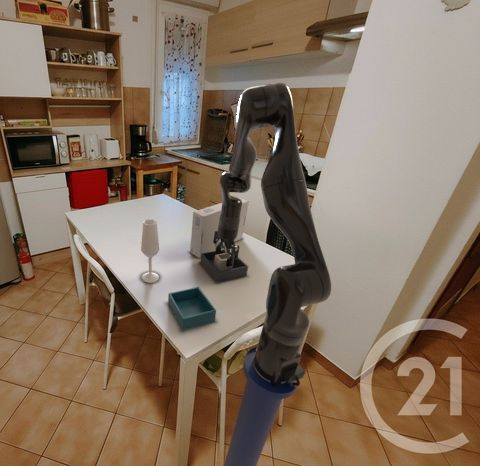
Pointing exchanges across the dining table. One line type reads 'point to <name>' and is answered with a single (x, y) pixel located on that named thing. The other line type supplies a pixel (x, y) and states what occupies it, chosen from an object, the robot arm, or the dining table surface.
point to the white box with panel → (221, 262)
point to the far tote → (237, 270)
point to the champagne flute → (150, 247)
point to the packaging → (211, 228)
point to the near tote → (191, 308)
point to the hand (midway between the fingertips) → (223, 260)
